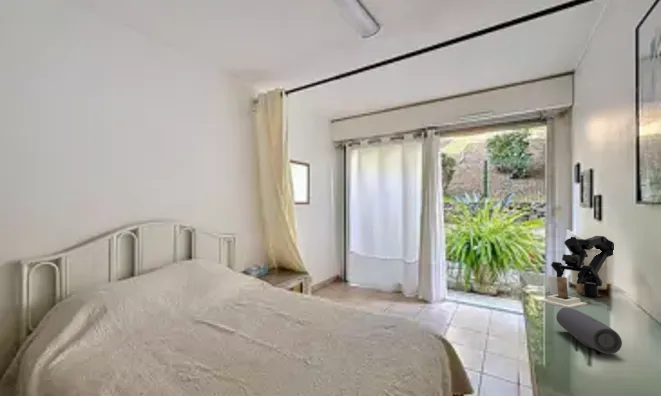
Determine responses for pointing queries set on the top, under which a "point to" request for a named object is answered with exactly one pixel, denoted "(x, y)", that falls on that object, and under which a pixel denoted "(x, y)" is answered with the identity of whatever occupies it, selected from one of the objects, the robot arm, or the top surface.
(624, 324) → the top surface
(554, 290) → the white cup
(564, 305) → the socket
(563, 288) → the dowel
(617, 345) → the bluetooth speaker
